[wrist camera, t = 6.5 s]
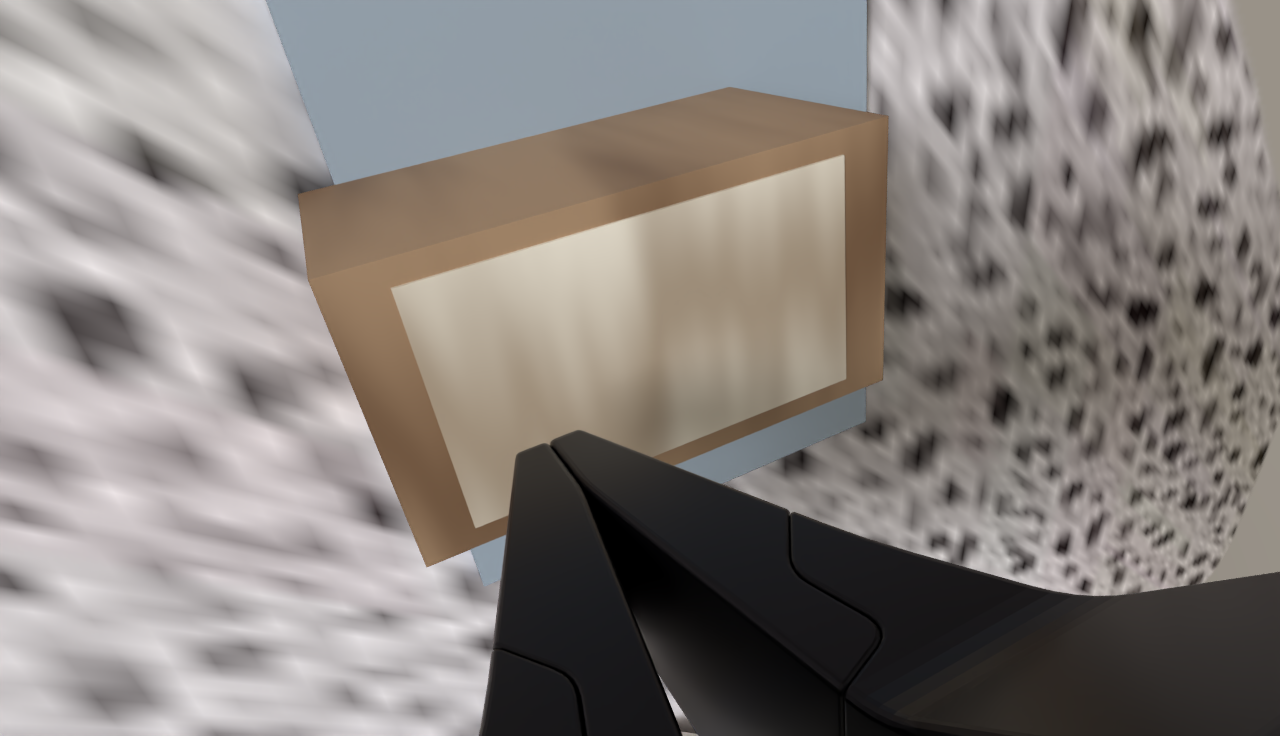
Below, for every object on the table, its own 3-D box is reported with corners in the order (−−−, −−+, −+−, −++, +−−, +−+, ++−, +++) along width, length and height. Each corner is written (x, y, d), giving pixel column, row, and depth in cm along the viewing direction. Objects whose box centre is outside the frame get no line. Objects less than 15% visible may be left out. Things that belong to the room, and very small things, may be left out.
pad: (859, 416, 22) (865, 421, 22) (481, 578, 19) (484, 586, 19) (857, -253, 14) (867, -258, 14) (198, -181, 11) (196, -186, 11)
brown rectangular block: (387, 420, 16) (747, 295, 18) (427, 569, 12) (884, 380, 14) (298, 194, 13) (729, 86, 16) (308, 281, 9) (890, 116, 12)
